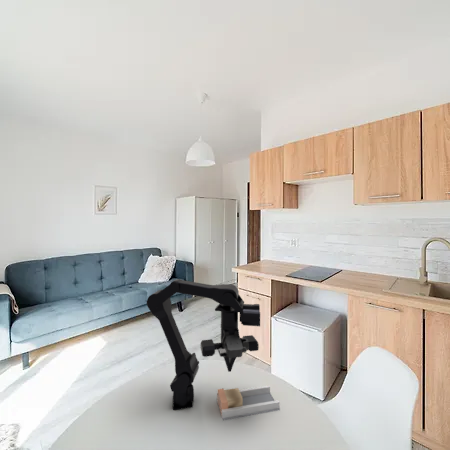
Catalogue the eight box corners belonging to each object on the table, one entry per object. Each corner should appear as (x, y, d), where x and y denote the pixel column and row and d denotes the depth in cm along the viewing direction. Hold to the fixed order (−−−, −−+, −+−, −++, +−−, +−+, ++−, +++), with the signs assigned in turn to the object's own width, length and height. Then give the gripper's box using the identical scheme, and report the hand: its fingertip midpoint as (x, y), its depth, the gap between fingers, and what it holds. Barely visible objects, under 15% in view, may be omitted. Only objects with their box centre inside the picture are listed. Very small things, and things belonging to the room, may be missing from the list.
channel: (222, 423, 73) (222, 407, 73) (216, 400, 83) (216, 386, 83) (280, 413, 77) (280, 397, 78) (268, 392, 87) (268, 378, 87)
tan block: (227, 413, 76) (227, 400, 76) (223, 402, 81) (223, 390, 81) (242, 410, 77) (242, 398, 77) (238, 399, 82) (238, 387, 82)
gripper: (205, 337, 70) (204, 391, 70) (264, 331, 74) (264, 382, 74) (200, 322, 81) (200, 369, 81) (252, 318, 85) (252, 362, 85)
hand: (229, 371), depth 80 cm, fingers closed
